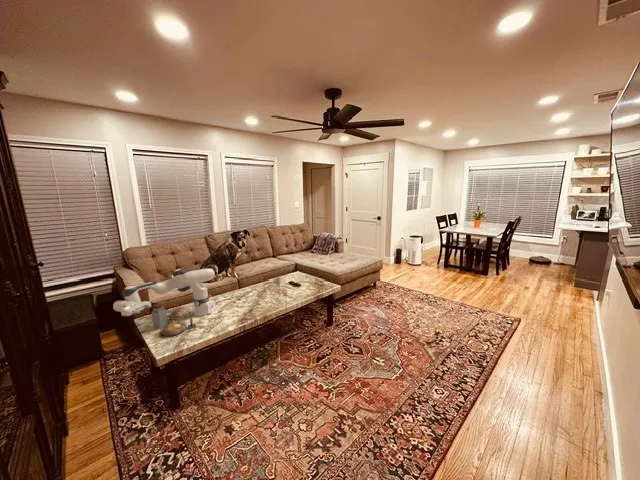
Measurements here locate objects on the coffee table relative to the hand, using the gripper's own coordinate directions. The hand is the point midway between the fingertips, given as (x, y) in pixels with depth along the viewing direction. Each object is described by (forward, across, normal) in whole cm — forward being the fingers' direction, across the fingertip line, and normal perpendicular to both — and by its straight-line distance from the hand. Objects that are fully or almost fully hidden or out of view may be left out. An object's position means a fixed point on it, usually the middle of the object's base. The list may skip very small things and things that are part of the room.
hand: (145, 309), depth 206 cm
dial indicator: (+37, -6, -14) cm, 40 cm away
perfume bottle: (+12, -1, -14) cm, 19 cm away
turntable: (+29, +3, -14) cm, 32 cm away
